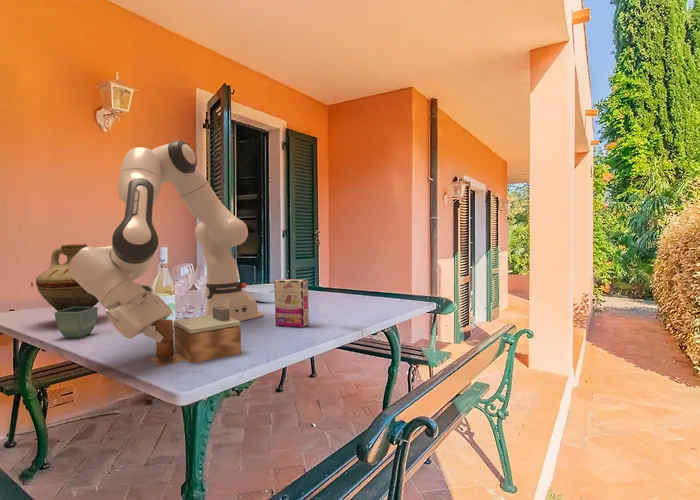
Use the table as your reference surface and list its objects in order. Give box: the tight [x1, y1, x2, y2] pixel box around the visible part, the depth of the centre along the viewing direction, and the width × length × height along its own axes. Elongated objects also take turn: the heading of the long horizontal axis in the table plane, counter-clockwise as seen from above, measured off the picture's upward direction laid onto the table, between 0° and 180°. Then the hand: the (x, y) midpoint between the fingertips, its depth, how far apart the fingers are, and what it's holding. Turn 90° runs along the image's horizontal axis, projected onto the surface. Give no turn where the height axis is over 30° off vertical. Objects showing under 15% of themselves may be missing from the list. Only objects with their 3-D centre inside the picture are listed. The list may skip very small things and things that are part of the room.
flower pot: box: [54, 306, 99, 339], centre depth 130 cm, size 9×9×9 cm
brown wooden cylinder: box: [154, 318, 175, 359], centre depth 100 cm, size 4×4×9 cm
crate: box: [149, 324, 242, 367], centre depth 105 cm, size 20×14×8 cm
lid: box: [173, 306, 241, 334], centre depth 107 cm, size 13×14×4 cm
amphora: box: [35, 243, 100, 312], centre depth 150 cm, size 24×24×30 cm
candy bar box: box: [273, 278, 310, 329], centre depth 140 cm, size 11×5×16 cm, turn 71°
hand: (167, 337), depth 100 cm, fingers closed on brown wooden cylinder, 4 cm apart
